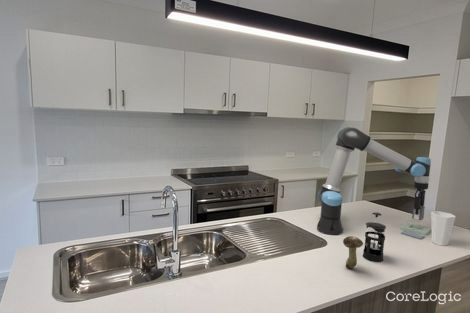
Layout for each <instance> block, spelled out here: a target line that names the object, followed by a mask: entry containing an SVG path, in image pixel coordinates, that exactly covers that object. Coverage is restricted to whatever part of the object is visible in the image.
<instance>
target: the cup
mask: <svg viewBox="0 0 470 313" xmlns="http://www.w3.org/2000/svg"><path fill="white" fill-rule="evenodd" d="M430 212H431V213H430V217H431V218H430V220H431V222H430V223H431V224H430V225H431V227H430V228H431V229H432V231H431V242H432V243H433V244H435V245H438V246H441V247H446V246H448V244H449V242H450V238H451V234H452V231H453V227H454V224H455V221H456V215H454V214H453V213H450V212H446V211H445V212H444V211H439V210H438V211H430Z"/></svg>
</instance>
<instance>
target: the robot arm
mask: <svg viewBox="0 0 470 313" xmlns="http://www.w3.org/2000/svg"><path fill="white" fill-rule="evenodd" d="M336 139H337V140H336V143H335V147H336V151H335V154H334V157H333V160H332V163H331V166H330V169H329V173H328V175H327V177H326V181H325V183H323V184H322V185H321V188H320V190H319V191H318V193H317V201H318V203H319V205H320V206H321V208H320V217H319V220H318V222H317V225H316V230H317V231H318V232H319V233H321V234H324V235H331V236H338V235H342V234H343V232H344V231H343V230H344V227H343V224H342V221H341V217H342V205H343V196H342V195H341V194H340V192H341V189H340V185H341V182H342V179H343V176H344V172H345V171H346V167H347V164H348V161H349V160H350V159H349V158H350V156H351V153H353V152H354V151H355V149H356V150H359V151H361V152H363V151H365V152H367V153H368V154H370V155H372V156H374V157H376V158H378V159H380V160H382V161H384V162H386V163H388V164H389V165H391V166H393V167H394V170H395V172H397V173H405V174H408V175H411V176H413V177H414V182H413V183H414V184H413V188H414V189H417V190H416V191H415V193H414V204H413V206H414V208H413V207H412V210H413V209H415V213H414V219H413V220H417V221H420V220H419V216H420V206H425V200H426V192H427V191H426V190H429V181H430V180H431V178H430V173H431V165H432V164H431V162H432V160H431V158H430V157H426V156H418V157H416V159H414V160H412V159H410V158H408V157H406V156H404V155H402V154H401V153H398V152H396V151H395V150H393V149H391V148H389V147H387V146H385V145H383V144H381V143H379V142H378V141H376V140H373V139H372V137H371V136H370V135H368V134H366V133H364V132H363V131H361V130H360V129H358V128H356V127H350V126H345V127H343V128H342V129H339V131H338V133H337V137H336Z"/></svg>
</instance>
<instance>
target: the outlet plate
mask: <svg viewBox="0 0 470 313" xmlns="http://www.w3.org/2000/svg"><path fill="white" fill-rule="evenodd" d="M400 230H402V231H408V232H412V233H415V234H418V235H422V236H425V237H426V236H428V235H429V234H430V233H432V229H431V227H430V226H426V225H422V224H417V223H413V222H409V221H406V222H405V223H404V224H403V225H400Z"/></svg>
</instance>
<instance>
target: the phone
mask: <svg viewBox="0 0 470 313" xmlns="http://www.w3.org/2000/svg"><path fill="white" fill-rule="evenodd" d="M400 235H404V236H406V237H407V236H408V237H410V238H413V239H417V240H420V241H422V240H423V239H424V238H426V236H424V235H420V234H416V233H412V232H409V231H405V230H402V231H401V232H400Z"/></svg>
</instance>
